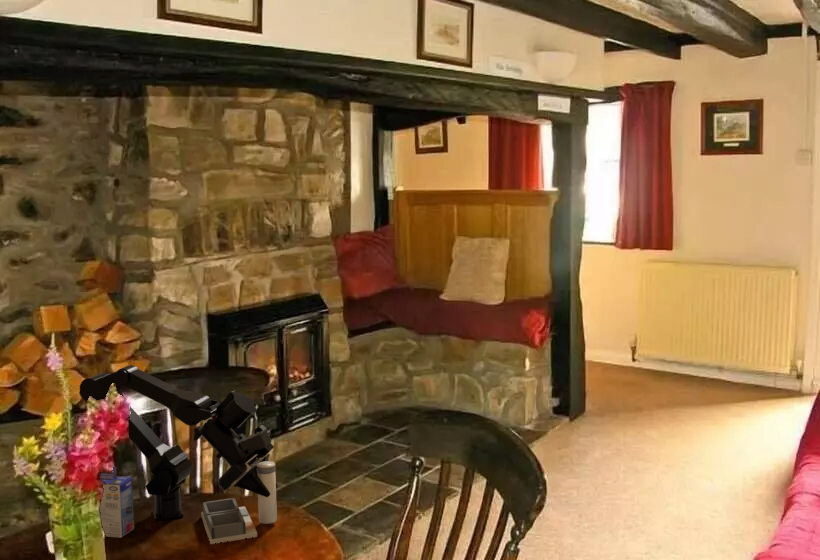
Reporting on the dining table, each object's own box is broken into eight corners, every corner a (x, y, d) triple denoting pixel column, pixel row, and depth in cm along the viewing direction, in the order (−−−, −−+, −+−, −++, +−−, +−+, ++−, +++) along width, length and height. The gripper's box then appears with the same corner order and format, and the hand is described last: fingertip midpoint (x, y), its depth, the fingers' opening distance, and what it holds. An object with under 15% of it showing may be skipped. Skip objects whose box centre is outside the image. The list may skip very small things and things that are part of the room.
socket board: (201, 516, 197) (200, 502, 196) (245, 510, 200) (244, 496, 200) (210, 544, 183) (209, 528, 182) (257, 536, 186) (256, 521, 186)
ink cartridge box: (136, 528, 191) (132, 466, 189) (123, 539, 186) (119, 474, 184) (96, 525, 193) (92, 463, 191) (82, 535, 188) (78, 472, 186)
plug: (257, 517, 194) (255, 462, 192) (275, 515, 195) (273, 460, 193) (260, 524, 190) (258, 468, 188) (278, 522, 191) (277, 466, 190)
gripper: (229, 430, 181) (280, 485, 180) (264, 406, 199) (310, 455, 198) (197, 463, 184) (246, 517, 183) (234, 437, 202) (279, 485, 201)
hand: (272, 492), depth 191 cm, fingers closed on plug, 4 cm apart
